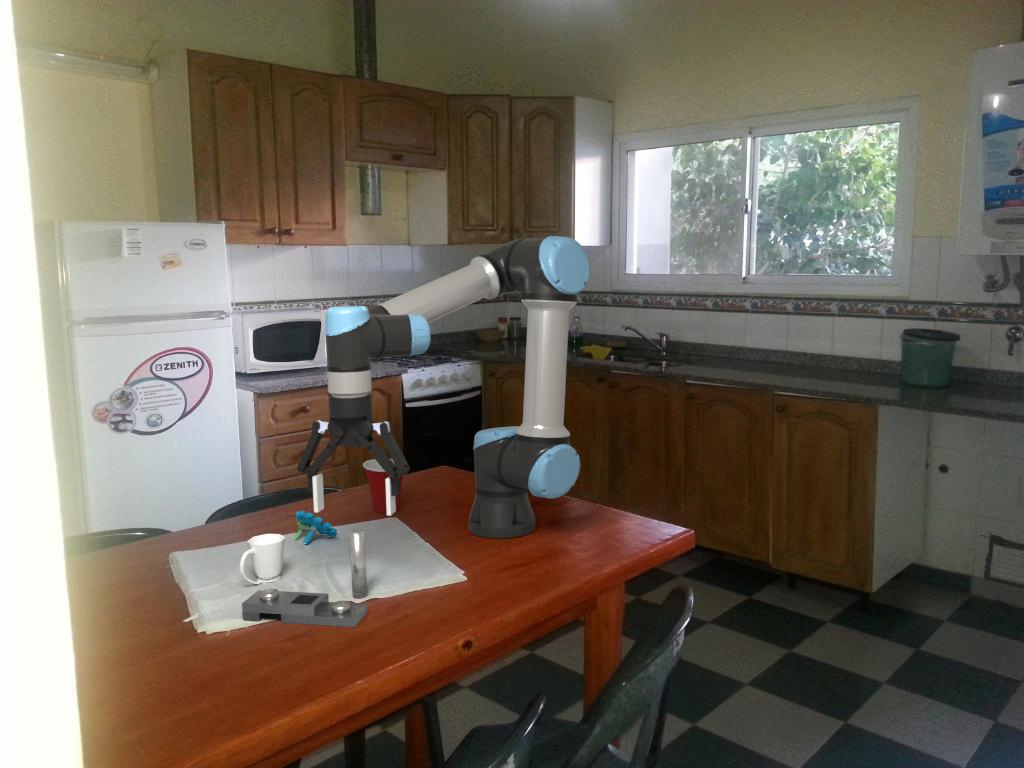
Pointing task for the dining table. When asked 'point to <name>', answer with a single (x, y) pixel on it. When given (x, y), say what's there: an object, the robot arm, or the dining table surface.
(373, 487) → the plastic cup
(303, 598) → the grey bolted bracket
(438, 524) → the dining table surface
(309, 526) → the gear
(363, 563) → the metal pin
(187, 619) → the butter knife
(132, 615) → the dining table surface
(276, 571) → the cup
